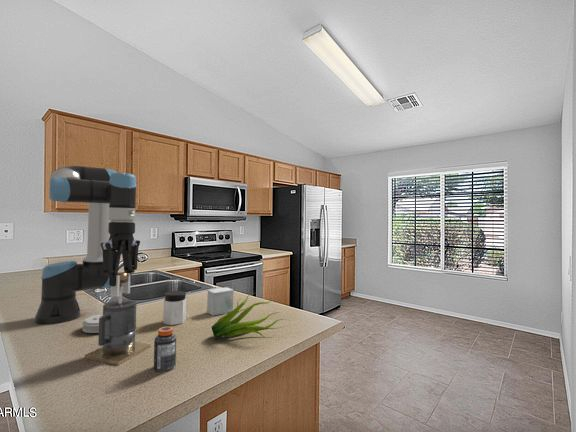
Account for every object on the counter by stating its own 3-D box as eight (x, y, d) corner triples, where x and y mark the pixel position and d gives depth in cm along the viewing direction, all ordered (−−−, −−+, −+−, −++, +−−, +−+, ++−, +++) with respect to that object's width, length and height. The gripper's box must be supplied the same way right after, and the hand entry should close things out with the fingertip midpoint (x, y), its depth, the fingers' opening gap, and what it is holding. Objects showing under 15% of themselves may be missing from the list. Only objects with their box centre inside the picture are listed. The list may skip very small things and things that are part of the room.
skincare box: (213, 316, 134) (213, 292, 134) (206, 312, 139) (206, 289, 139) (233, 311, 141) (234, 289, 141) (226, 308, 146) (227, 286, 146)
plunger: (110, 330, 96) (111, 273, 96) (119, 327, 99) (121, 271, 99) (119, 332, 95) (120, 274, 95) (128, 328, 98) (129, 272, 98)
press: (83, 359, 92) (84, 307, 92) (119, 341, 105) (120, 296, 105) (116, 366, 88) (118, 312, 88) (150, 347, 101) (151, 300, 101)
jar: (165, 326, 120) (166, 296, 120) (161, 320, 127) (162, 292, 127) (188, 322, 125) (189, 293, 125) (183, 317, 132) (183, 289, 132)
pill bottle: (157, 362, 91) (158, 324, 91) (178, 362, 91) (179, 324, 91) (150, 372, 85) (151, 332, 85) (172, 372, 85) (173, 332, 85)
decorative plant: (292, 342, 108) (293, 301, 108) (208, 342, 107) (209, 300, 107) (290, 324, 126) (291, 289, 126) (218, 324, 125) (219, 288, 125)
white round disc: (115, 321, 126) (115, 309, 126) (124, 329, 117) (125, 316, 117) (78, 328, 117) (79, 315, 117) (86, 338, 108) (86, 324, 108)
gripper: (109, 221, 88) (107, 302, 88) (150, 221, 104) (149, 289, 104) (89, 221, 90) (87, 299, 90) (133, 221, 106) (131, 288, 106)
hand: (120, 294), depth 97 cm, fingers closed on plunger, 4 cm apart
